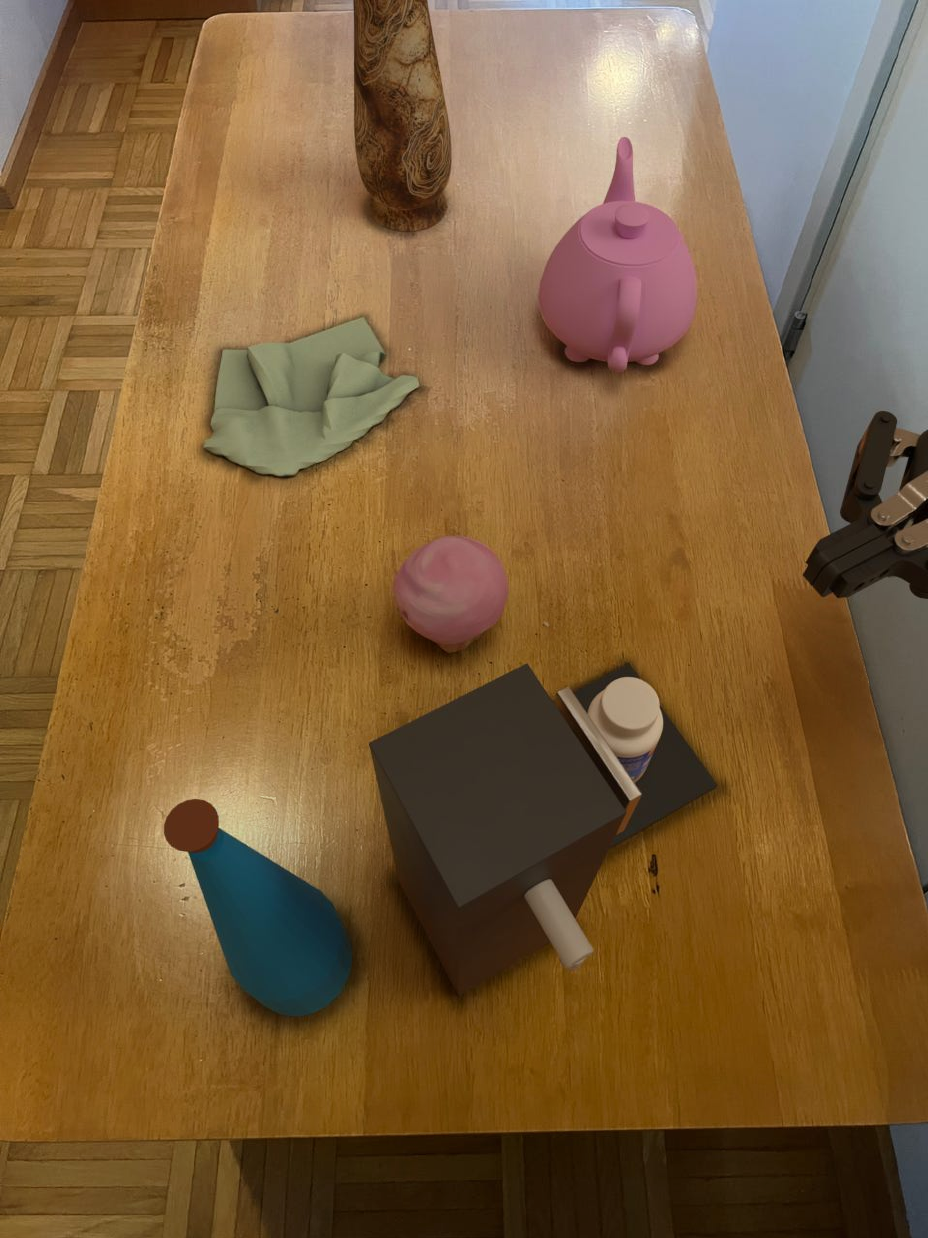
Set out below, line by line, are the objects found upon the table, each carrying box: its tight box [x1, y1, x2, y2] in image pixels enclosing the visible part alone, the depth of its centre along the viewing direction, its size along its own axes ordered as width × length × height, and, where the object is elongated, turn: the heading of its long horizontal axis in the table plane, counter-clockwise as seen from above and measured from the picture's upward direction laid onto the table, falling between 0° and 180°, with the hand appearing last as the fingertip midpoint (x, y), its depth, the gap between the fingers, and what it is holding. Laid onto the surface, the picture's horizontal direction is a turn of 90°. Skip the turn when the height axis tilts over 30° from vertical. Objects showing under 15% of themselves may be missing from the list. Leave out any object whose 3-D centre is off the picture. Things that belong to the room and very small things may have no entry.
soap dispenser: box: [368, 663, 627, 997], centre depth 54 cm, size 13×9×26 cm
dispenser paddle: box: [553, 686, 642, 835], centre depth 51 cm, size 7×1×6 cm, turn 29°
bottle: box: [163, 798, 354, 1018], centre depth 52 cm, size 7×7×30 cm
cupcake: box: [392, 535, 509, 654], centre depth 74 cm, size 9×9×10 cm
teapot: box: [537, 136, 698, 373], centre depth 90 cm, size 22×16×14 cm
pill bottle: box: [587, 677, 663, 783], centre depth 68 cm, size 5×5×10 cm
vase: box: [352, 0, 453, 232], centre depth 93 cm, size 10×11×30 cm
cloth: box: [203, 316, 420, 478], centre depth 90 cm, size 20×22×2 cm
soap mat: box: [553, 662, 718, 850], centre depth 72 cm, size 12×12×1 cm
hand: (817, 577), depth 45 cm, fingers closed
